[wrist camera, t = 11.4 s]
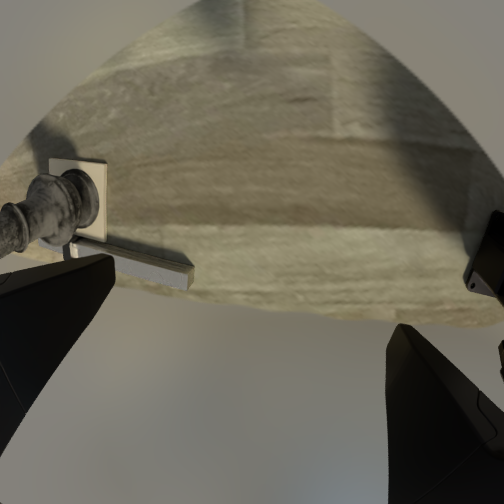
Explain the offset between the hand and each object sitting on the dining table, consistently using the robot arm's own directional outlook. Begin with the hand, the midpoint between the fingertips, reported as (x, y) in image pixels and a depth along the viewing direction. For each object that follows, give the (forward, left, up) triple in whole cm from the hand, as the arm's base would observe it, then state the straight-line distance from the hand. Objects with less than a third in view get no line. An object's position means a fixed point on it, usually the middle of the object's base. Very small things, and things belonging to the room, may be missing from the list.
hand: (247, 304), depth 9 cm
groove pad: (+17, +3, -13) cm, 22 cm away
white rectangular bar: (+14, +7, -13) cm, 20 cm away
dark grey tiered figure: (+17, +3, -13) cm, 22 cm away
